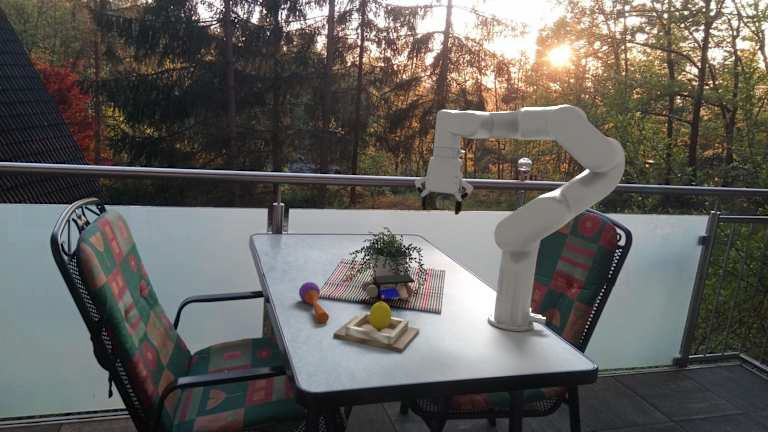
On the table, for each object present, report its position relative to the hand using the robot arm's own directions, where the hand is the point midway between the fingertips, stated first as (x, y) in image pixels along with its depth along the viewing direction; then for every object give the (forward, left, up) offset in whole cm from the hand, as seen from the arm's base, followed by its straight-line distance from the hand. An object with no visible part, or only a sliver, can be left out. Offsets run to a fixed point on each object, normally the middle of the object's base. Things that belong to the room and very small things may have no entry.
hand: (440, 211), depth 162 cm
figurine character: (+13, +4, -29) cm, 32 cm away
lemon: (+6, +31, -28) cm, 42 cm away
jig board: (+6, +31, -28) cm, 42 cm away
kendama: (+28, +24, -29) cm, 46 cm away
